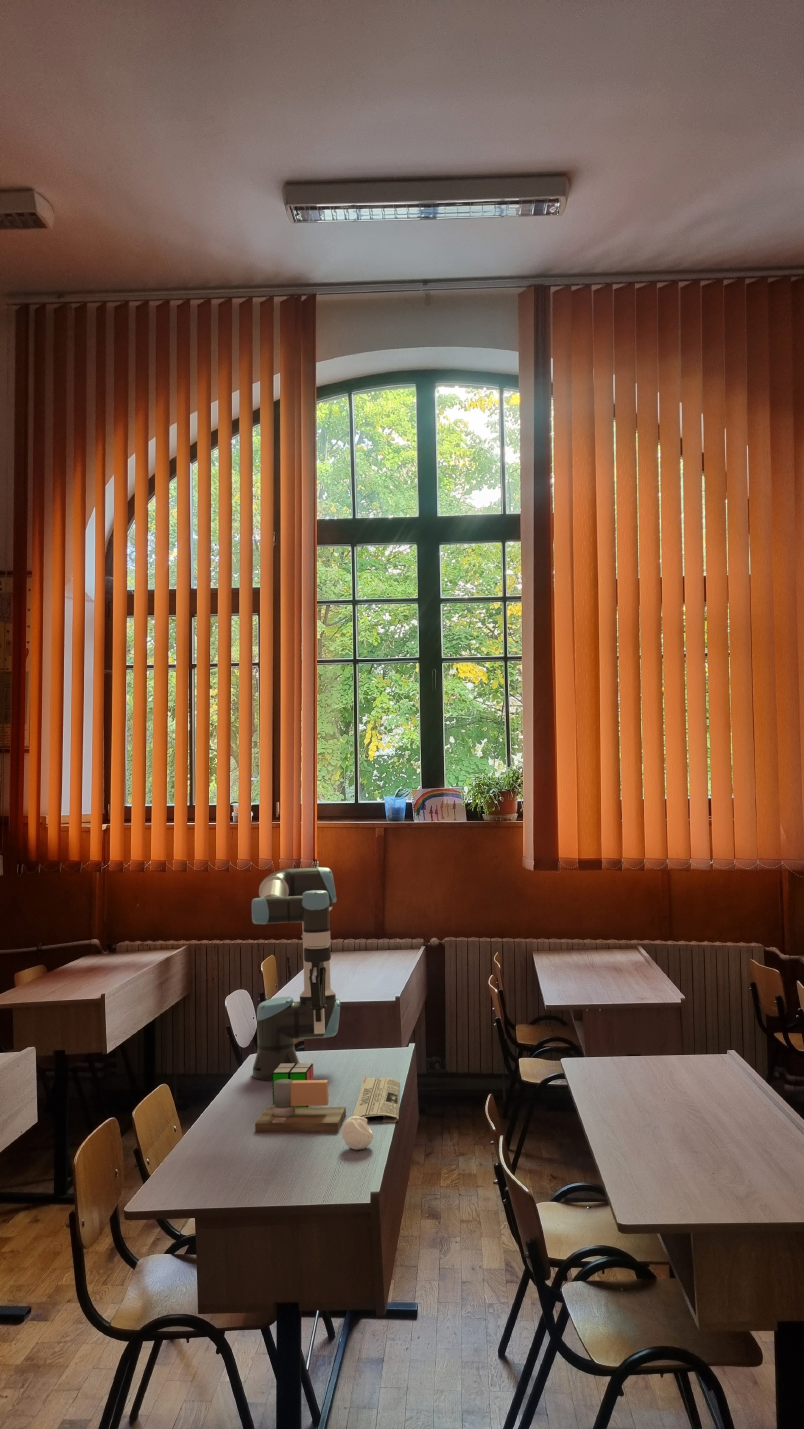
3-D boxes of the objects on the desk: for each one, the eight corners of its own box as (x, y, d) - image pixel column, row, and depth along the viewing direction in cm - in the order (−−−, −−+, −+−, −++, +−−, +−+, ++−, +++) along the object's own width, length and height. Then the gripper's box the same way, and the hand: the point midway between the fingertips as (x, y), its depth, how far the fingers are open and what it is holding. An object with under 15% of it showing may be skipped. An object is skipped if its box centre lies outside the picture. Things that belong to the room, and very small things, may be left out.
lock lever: (277, 1101, 264) (276, 1079, 265) (329, 1101, 263) (328, 1078, 263) (272, 1107, 259) (272, 1084, 260) (326, 1107, 258) (325, 1084, 258)
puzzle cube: (314, 1098, 282) (313, 1062, 283) (307, 1108, 272) (306, 1072, 273) (280, 1098, 283) (279, 1063, 284) (272, 1109, 273) (271, 1072, 274)
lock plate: (267, 1116, 266) (266, 1100, 267) (345, 1116, 264) (345, 1099, 265) (255, 1132, 254) (254, 1115, 254) (338, 1132, 251) (337, 1114, 252)
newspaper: (398, 1124, 258) (398, 1110, 258) (351, 1126, 258) (351, 1112, 258) (400, 1085, 293) (399, 1073, 293) (358, 1087, 293) (358, 1075, 293)
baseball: (375, 1153, 236) (374, 1120, 236) (344, 1156, 234) (343, 1123, 235) (371, 1142, 243) (370, 1110, 244) (341, 1144, 242) (340, 1113, 243)
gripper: (308, 943, 278) (310, 1027, 276) (299, 950, 265) (301, 1038, 263) (334, 943, 277) (336, 1027, 275) (326, 949, 264) (328, 1038, 262)
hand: (319, 1032), depth 269 cm, fingers closed
